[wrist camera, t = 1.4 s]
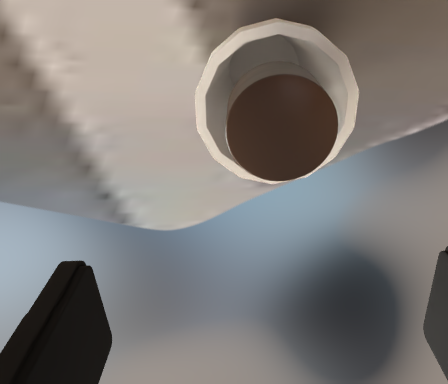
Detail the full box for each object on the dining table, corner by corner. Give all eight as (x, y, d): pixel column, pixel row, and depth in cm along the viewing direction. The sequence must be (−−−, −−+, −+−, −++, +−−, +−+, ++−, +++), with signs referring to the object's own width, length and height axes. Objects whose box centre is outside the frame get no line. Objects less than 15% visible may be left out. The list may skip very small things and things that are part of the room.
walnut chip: (308, 43, 21) (320, 54, 18) (336, 136, 23) (351, 160, 20) (211, 84, 22) (207, 101, 19) (247, 168, 25) (249, 196, 21)
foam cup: (312, 120, 36) (346, 183, 25) (212, 121, 37) (199, 184, 25) (322, 6, 32) (369, 19, 20) (207, 8, 32) (190, 23, 21)
